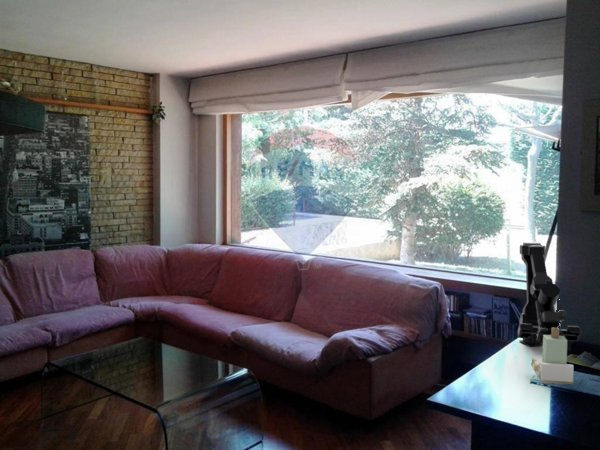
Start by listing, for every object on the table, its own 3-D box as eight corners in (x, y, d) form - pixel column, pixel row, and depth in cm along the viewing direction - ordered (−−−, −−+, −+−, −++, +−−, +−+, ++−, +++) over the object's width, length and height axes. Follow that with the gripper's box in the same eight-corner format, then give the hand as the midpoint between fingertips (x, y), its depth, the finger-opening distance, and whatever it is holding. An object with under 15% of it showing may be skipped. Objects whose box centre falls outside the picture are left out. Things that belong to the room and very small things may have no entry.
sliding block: (541, 371, 174) (543, 325, 172) (561, 372, 172) (563, 326, 171) (545, 376, 169) (546, 329, 168) (565, 378, 168) (567, 331, 166)
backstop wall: (540, 378, 168) (541, 362, 168) (571, 380, 166) (572, 364, 166) (541, 379, 167) (542, 364, 167) (573, 382, 165) (573, 366, 165)
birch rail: (531, 364, 184) (531, 357, 183) (559, 366, 182) (559, 359, 181) (541, 382, 167) (541, 375, 167) (572, 385, 165) (573, 377, 165)
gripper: (520, 299, 179) (525, 341, 169) (581, 302, 175) (590, 345, 165) (515, 316, 187) (520, 357, 177) (574, 319, 183) (581, 362, 173)
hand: (552, 355), depth 173 cm, fingers closed
